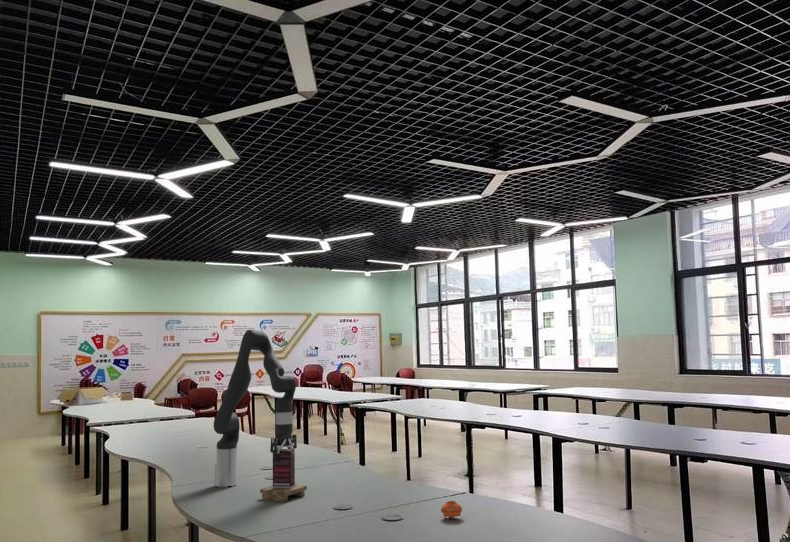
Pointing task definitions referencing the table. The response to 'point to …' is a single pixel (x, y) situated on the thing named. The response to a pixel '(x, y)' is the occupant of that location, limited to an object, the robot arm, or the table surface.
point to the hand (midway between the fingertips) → (283, 460)
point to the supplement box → (284, 469)
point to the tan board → (282, 492)
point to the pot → (451, 509)
